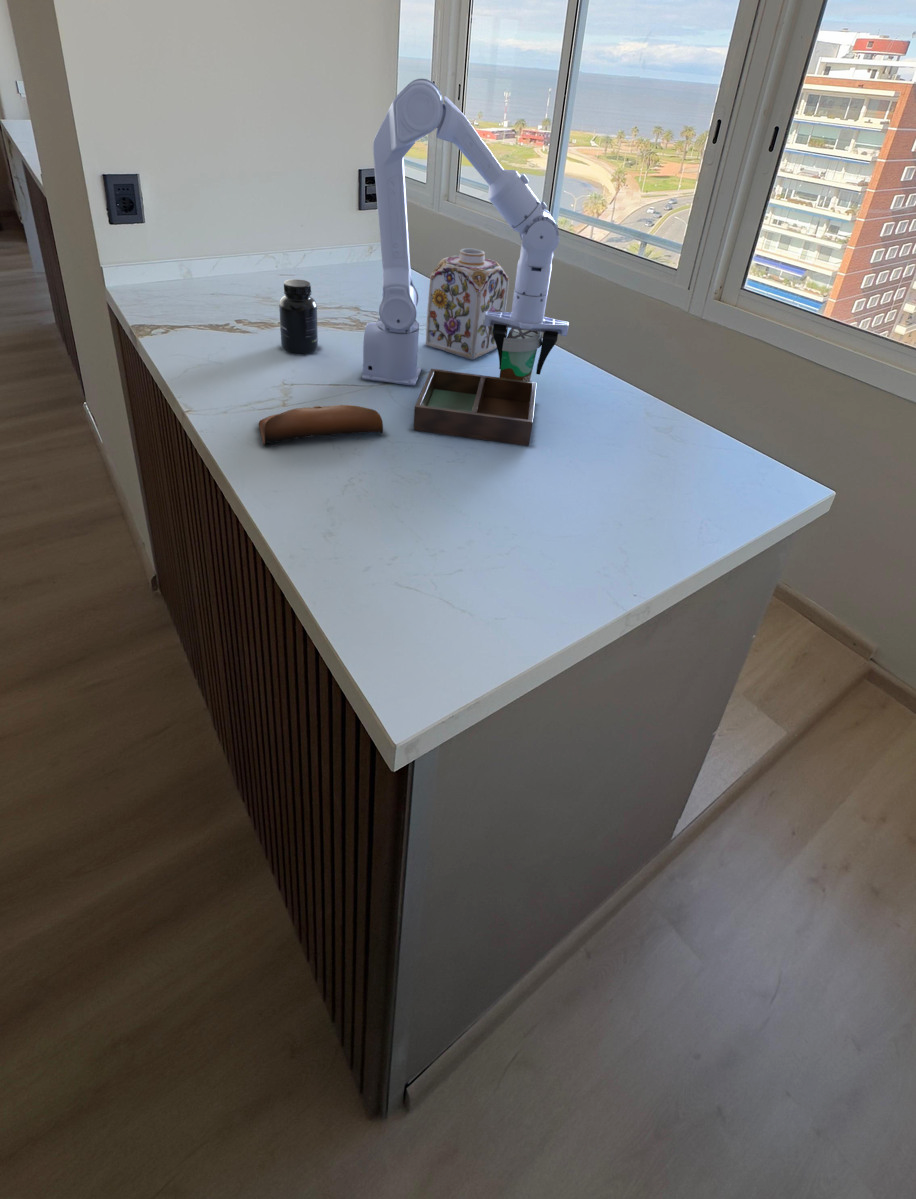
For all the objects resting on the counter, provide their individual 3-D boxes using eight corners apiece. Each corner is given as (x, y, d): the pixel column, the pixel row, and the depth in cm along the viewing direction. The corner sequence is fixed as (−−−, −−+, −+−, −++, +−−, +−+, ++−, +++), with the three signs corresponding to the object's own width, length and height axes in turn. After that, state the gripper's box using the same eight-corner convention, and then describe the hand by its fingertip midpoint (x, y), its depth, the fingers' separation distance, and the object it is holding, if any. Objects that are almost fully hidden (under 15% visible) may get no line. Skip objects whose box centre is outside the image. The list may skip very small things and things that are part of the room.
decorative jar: (473, 361, 141) (483, 262, 130) (423, 346, 145) (429, 249, 134) (503, 346, 149) (515, 252, 138) (455, 332, 153) (463, 239, 142)
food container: (530, 400, 128) (539, 344, 122) (496, 395, 129) (503, 338, 122) (538, 376, 138) (547, 322, 131) (506, 371, 138) (514, 317, 132)
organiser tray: (413, 430, 115) (414, 406, 112) (429, 390, 128) (430, 368, 125) (528, 446, 114) (532, 422, 111) (533, 404, 127) (536, 382, 124)
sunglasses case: (368, 411, 117) (374, 385, 111) (378, 448, 115) (386, 424, 109) (254, 420, 111) (255, 394, 105) (263, 460, 109) (264, 435, 103)
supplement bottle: (274, 350, 136) (269, 283, 129) (294, 339, 141) (290, 274, 134) (306, 358, 135) (303, 290, 127) (325, 347, 140) (323, 281, 132)
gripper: (486, 292, 120) (477, 372, 128) (573, 303, 119) (559, 383, 128) (490, 281, 126) (481, 358, 134) (573, 292, 125) (559, 369, 133)
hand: (519, 370), depth 131 cm, fingers closed on food container, 6 cm apart
